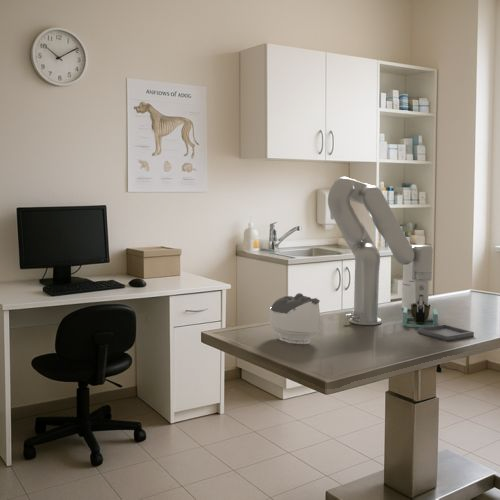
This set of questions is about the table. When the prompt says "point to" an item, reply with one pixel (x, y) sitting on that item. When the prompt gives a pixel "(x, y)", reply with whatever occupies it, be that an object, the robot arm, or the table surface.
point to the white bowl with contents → (295, 318)
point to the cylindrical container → (408, 287)
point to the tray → (445, 332)
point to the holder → (434, 320)
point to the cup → (414, 310)
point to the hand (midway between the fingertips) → (420, 319)
